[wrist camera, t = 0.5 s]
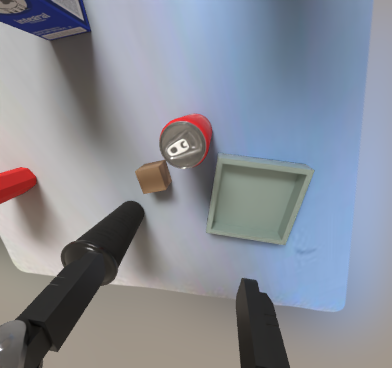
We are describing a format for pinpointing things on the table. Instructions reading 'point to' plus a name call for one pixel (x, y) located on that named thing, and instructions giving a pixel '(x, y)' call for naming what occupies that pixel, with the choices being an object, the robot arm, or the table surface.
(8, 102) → the table surface
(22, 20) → the milk carton
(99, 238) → the drinking cup
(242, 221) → the tray
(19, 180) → the french fries
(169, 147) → the beverage can
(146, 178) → the walnut block
